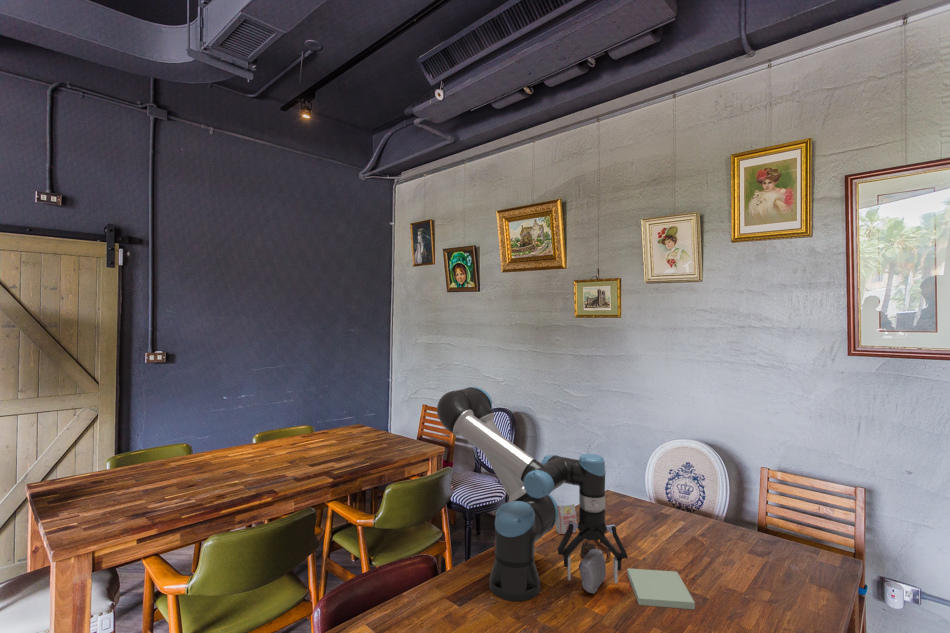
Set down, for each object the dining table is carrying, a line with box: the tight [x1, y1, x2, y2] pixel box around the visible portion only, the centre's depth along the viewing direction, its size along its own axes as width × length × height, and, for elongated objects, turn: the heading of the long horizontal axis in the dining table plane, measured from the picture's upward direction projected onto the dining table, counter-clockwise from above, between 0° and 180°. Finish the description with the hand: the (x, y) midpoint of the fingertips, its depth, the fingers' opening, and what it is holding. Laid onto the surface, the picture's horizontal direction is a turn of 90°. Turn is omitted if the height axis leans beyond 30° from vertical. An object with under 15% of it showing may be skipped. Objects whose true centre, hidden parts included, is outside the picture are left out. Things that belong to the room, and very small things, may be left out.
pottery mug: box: [579, 539, 612, 562], centre depth 156 cm, size 12×9×8 cm
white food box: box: [555, 503, 578, 535], centre depth 177 cm, size 4×7×10 cm, turn 106°
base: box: [626, 567, 696, 610], centre depth 138 cm, size 15×16×2 cm
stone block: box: [578, 548, 607, 594], centre depth 139 cm, size 12×5×10 cm, turn 144°
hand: (592, 579), depth 139 cm, fingers open, 13 cm apart
